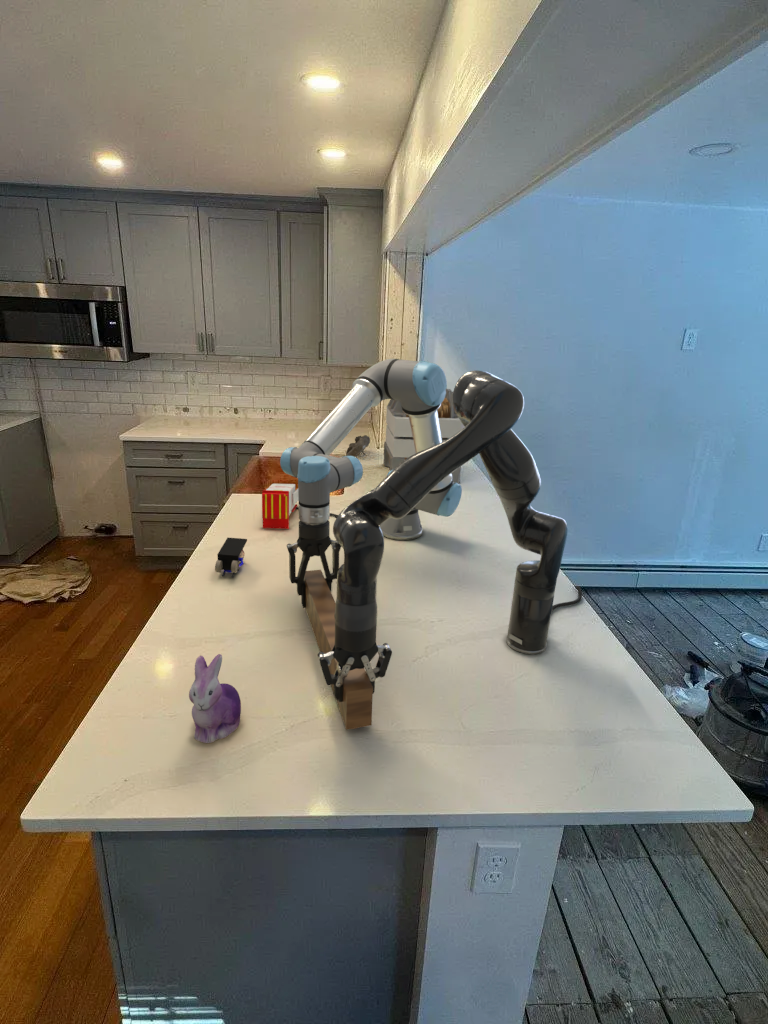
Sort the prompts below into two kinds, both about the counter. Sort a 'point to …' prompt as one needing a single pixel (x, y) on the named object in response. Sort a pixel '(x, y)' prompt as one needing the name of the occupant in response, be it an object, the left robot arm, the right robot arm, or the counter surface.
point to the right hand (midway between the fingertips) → (354, 696)
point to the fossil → (358, 446)
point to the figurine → (213, 702)
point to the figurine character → (230, 556)
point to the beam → (357, 682)
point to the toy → (278, 505)
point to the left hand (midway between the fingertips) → (314, 604)
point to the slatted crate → (401, 434)
